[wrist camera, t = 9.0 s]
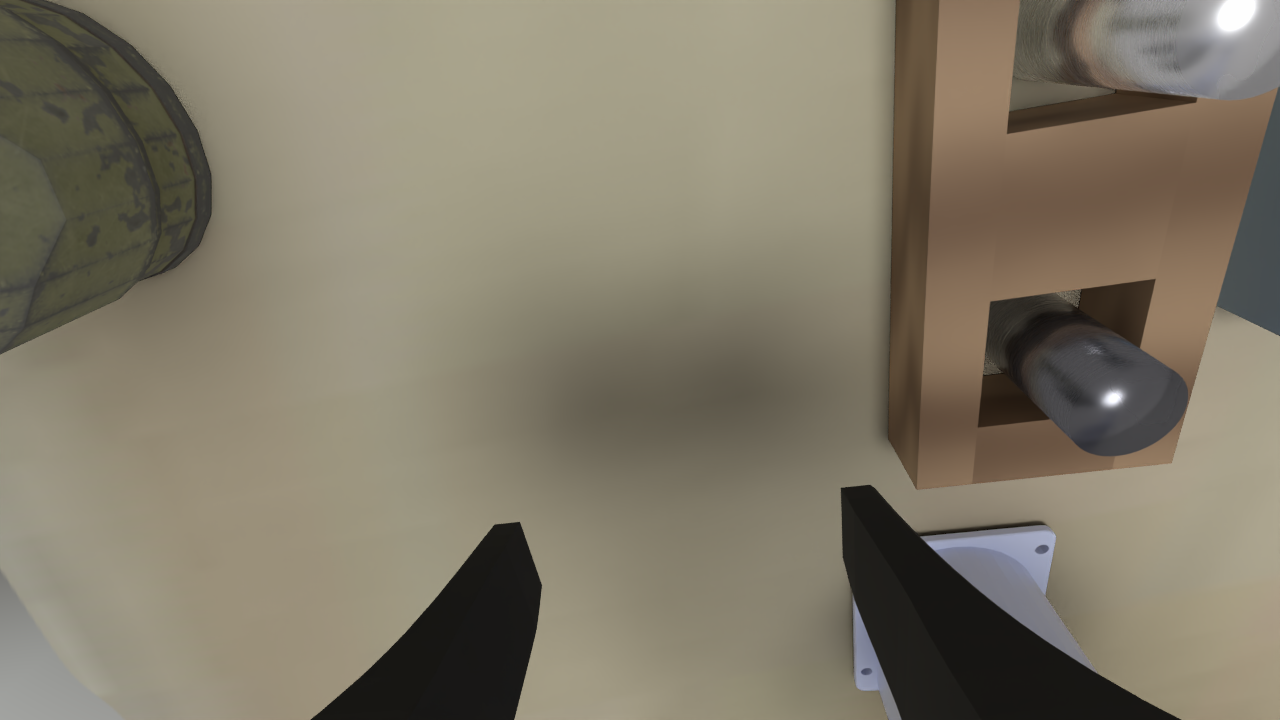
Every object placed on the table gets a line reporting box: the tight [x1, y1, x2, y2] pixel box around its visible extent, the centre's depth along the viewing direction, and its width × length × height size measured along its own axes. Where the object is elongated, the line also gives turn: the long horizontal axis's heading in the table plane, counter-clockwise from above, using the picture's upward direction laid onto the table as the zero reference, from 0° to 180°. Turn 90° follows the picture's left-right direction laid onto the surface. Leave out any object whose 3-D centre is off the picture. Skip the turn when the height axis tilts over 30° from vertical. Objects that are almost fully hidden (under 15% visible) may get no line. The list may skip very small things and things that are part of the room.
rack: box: [888, 0, 1278, 490], centre depth 17 cm, size 18×8×3 cm, turn 10°
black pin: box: [985, 293, 1188, 456], centre depth 18 cm, size 3×3×6 cm
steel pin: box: [1012, 0, 1280, 100], centre depth 14 cm, size 3×3×7 cm
